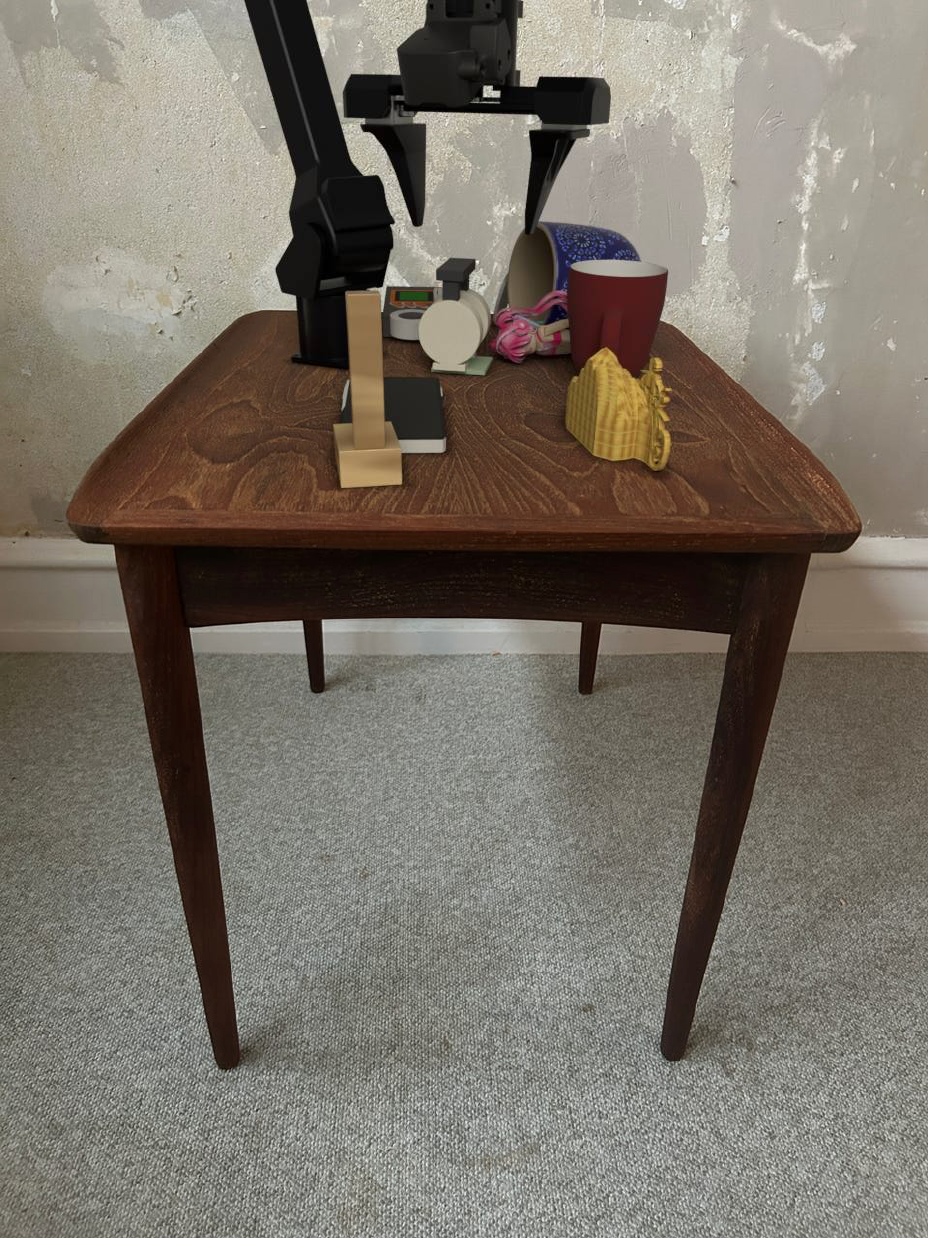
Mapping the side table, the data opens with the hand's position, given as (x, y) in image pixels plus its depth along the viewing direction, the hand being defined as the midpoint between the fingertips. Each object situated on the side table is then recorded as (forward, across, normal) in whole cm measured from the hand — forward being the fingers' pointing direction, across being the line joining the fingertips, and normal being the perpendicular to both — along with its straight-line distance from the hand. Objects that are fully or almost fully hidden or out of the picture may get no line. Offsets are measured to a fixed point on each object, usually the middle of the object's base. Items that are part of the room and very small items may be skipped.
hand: (472, 230), depth 67 cm
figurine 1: (+10, -7, +26) cm, 29 cm away
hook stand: (+13, 0, -18) cm, 22 cm away
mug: (+13, +10, +6) cm, 18 cm away
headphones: (+13, -5, +8) cm, 16 cm away
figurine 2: (+13, +14, -7) cm, 20 cm away
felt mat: (+13, -4, +8) cm, 16 cm away
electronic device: (+13, -15, +21) cm, 29 cm away
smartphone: (+13, -3, -8) cm, 16 cm away
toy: (+13, +4, +16) cm, 21 cm away
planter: (+8, +7, +28) cm, 30 cm away
